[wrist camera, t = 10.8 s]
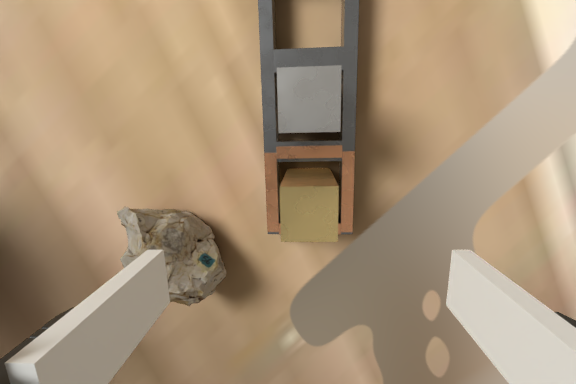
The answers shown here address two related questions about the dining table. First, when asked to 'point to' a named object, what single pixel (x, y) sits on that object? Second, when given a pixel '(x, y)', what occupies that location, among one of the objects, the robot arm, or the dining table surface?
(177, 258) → the rock
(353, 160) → the grey block rack
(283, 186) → the tan rectangular block
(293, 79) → the grey square-ended block
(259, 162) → the dining table surface
